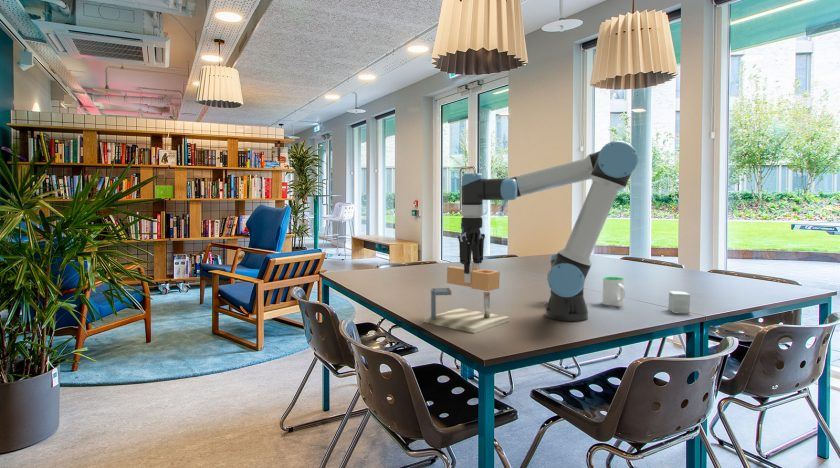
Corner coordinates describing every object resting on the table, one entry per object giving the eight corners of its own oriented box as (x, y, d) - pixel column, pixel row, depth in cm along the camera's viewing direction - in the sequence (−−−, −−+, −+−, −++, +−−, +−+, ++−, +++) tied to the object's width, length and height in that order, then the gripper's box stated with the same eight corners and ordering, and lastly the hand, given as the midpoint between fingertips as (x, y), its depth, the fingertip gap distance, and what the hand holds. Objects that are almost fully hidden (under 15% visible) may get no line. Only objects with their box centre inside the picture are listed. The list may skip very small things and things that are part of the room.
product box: (668, 309, 200) (668, 290, 200) (684, 310, 199) (685, 291, 198) (672, 313, 194) (673, 293, 194) (689, 313, 193) (690, 294, 192)
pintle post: (490, 317, 182) (491, 292, 182) (487, 318, 181) (487, 293, 180) (485, 316, 184) (485, 291, 183) (482, 317, 182) (482, 292, 182)
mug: (633, 307, 204) (633, 281, 204) (614, 308, 203) (615, 282, 202) (616, 301, 216) (616, 276, 215) (598, 301, 215) (599, 277, 214)
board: (509, 321, 183) (509, 316, 183) (474, 333, 168) (474, 328, 168) (459, 311, 198) (459, 308, 198) (423, 322, 182) (423, 318, 182)
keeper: (448, 315, 185) (448, 287, 184) (451, 320, 178) (451, 291, 177) (430, 316, 185) (430, 288, 184) (431, 321, 178) (431, 291, 177)
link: (499, 288, 182) (499, 271, 182) (488, 291, 177) (488, 274, 176) (455, 281, 195) (455, 265, 194) (443, 283, 190) (444, 267, 189)
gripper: (476, 215, 193) (476, 277, 194) (449, 217, 180) (449, 283, 182) (493, 216, 188) (493, 279, 189) (466, 218, 175) (466, 286, 177)
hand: (471, 281), depth 186 cm, fingers closed on link, 3 cm apart
